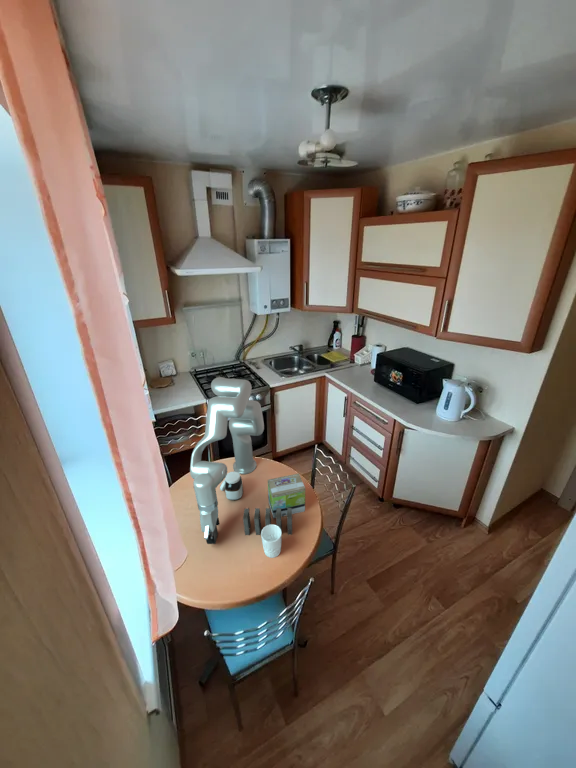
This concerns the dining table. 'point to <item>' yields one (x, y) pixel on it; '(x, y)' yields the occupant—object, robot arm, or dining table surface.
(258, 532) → the tile
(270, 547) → the white cup
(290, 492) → the tea box
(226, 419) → the robot arm
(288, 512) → the tile
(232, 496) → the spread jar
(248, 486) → the dining table surface
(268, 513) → the tile
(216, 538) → the tile
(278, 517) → the tile
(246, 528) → the tile
